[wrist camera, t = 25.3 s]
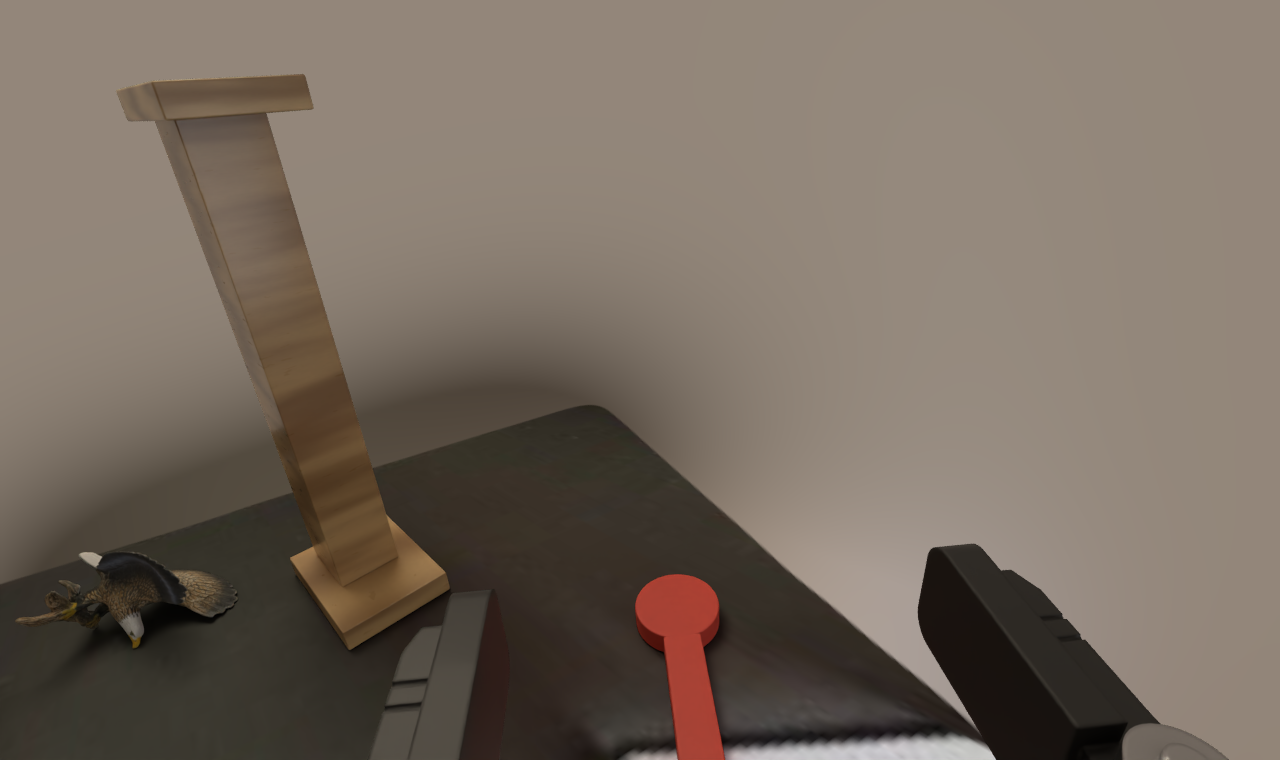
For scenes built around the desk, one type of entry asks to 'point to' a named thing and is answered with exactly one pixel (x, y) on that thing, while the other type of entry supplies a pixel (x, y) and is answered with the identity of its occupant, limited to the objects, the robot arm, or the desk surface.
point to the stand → (287, 341)
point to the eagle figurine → (134, 593)
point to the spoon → (684, 657)
